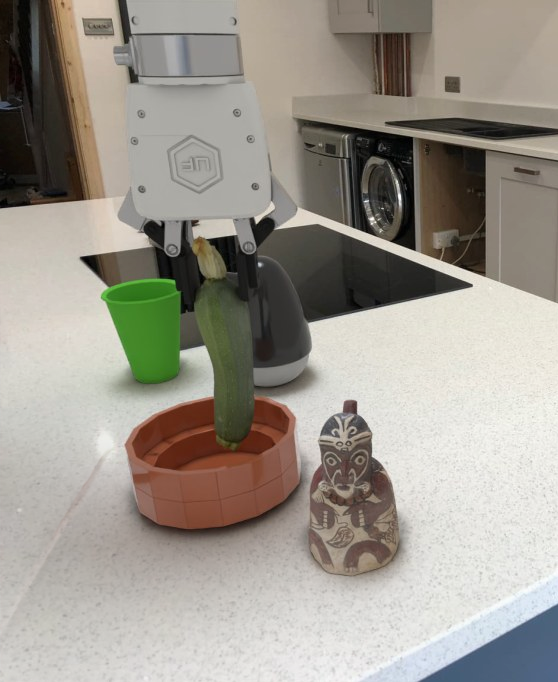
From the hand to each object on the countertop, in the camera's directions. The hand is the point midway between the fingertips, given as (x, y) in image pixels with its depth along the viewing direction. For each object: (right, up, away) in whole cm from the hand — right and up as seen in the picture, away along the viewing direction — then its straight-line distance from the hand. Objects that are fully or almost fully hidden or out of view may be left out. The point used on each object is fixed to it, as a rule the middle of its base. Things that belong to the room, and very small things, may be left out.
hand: (220, 295), depth 61 cm
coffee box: (-39, +16, +89) cm, 99 cm away
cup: (-17, -8, +29) cm, 35 cm away
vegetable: (0, -14, +6) cm, 15 cm away
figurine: (+11, -20, -2) cm, 23 cm away
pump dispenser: (-3, -8, +28) cm, 29 cm away
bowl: (-2, -17, +6) cm, 18 cm away
